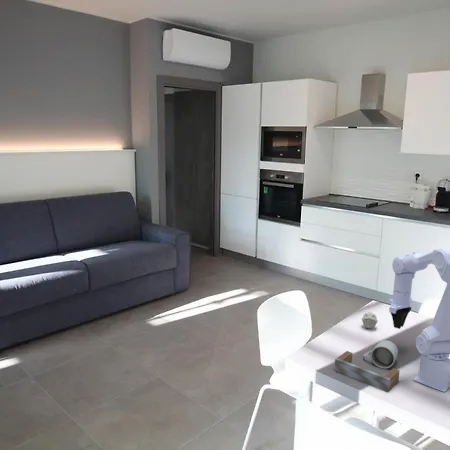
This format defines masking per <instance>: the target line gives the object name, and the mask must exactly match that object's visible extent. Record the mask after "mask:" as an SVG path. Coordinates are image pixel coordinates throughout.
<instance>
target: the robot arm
mask: <svg viewBox="0 0 450 450" xmlns="http://www.w3.org/2000/svg"><path fill="white" fill-rule="evenodd" d="M431 264H432V265H433V266H434V268H435V269H436V271H437V273H438V275H439V276H440V279H441V281H443V282H444V283H446V286H445V289H444V291H443V294H442V297H441V299H440V302H439V305H438V306H437V309H436V311H435V315H434V317H433V320H432V322H431V324H430V325H428V326H427V327H425V328H423V329H422V330H421V333H420V334H419V335H418V336H416V339H415V346H416V349H417V351H418V353H420V360H419V368H418V369H419V370H418V373H417V374H416V376H414V378H413V381H415V382H417V383H419V384H422V385H425V386H427V387H430V388H433V389H436V390H438V391H440V392H443V393H445V392H447V390H449V388H450V249H448V248H447V249H444V248H443V249H442V248H438V249H433V250H432V251H429V252H427V253H424V252H420V251H413V252H412V254H405V255H404V256H403V257H399V256H396V257H395V258H394V259H393V260H392V264H391V265H392V270H393V272H394V281H393V293H392V298H390V299H389V300H388V302H389V303H390V304H391V305H390V307H389V310H388V311H389V313H390V315H391V318H392V324H393V328H395V329H399V330H400V329H401V328H403V327H404V325H405V322H406V320H407V317H408V315H409V314H410V311H411V310H412V307H411V304H412V297H411V295H412V285H413V279H415V274H416V273H417V272H420V271H423V270H426V269H427V268H428V266H429V265H431Z"/></svg>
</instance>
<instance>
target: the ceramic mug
mask: <svg viewBox="0 0 450 450" xmlns="http://www.w3.org/2000/svg"><path fill="white" fill-rule="evenodd" d="M398 354H399V349H398V347H397V345H396V344H395V343H394V342H392V341H391V340H387V339H386V340H385V339H384V340H381V341H380V342H378V343H377V344H376V345H375V346H374V348H372V349H371V350H369V351H367V352H365V353H364V354H363V358H364V361H371V362H372V363H373V364H374V365H375V366H376V367H378V368H380V369H390V368H391V367H392V366H393V365H394V364H395V362H396V360H397V358H398V356H399V355H398Z"/></svg>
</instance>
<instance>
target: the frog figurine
mask: <svg viewBox="0 0 450 450" xmlns="http://www.w3.org/2000/svg"><path fill="white" fill-rule="evenodd" d="M361 321H362V324H363V326H364V327H365V328H367V329H373V328H375V326H376V325H377V323H378V317H377V315H376V314H375V313H373V312H372V311H368V312H365V313H364V314H363V315H362V318H361Z"/></svg>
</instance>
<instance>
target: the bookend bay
mask: <svg viewBox="0 0 450 450" xmlns="http://www.w3.org/2000/svg"><path fill="white" fill-rule="evenodd" d="M352 362H353V352H351V351H348V350H346V351H344V352H343V353H342V354H341V355H339V356H337V357H336V358H334V371H335V372H338V373H341V374H343V375H346V376H347V377H350V378H352V379H355V380H357V381H360V382H362V383H364V384H367V385H369V386H371V387H374V388H377V389H379V390H382V391H384V392H386V393H389V392H390V391H391V390H392V389H393V388H394V387H395V386H396V385H397V384H398V383H399V381H400V380H399V379H400V369H398V368H395V367H393V368H392V369H391V370H389V372H387V373H386V374H384V375H382V374H379V373H377V372H374V371H372V370H369V369H366V368H364V367H361V366H359V365H356V364H353V363H352Z"/></svg>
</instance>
